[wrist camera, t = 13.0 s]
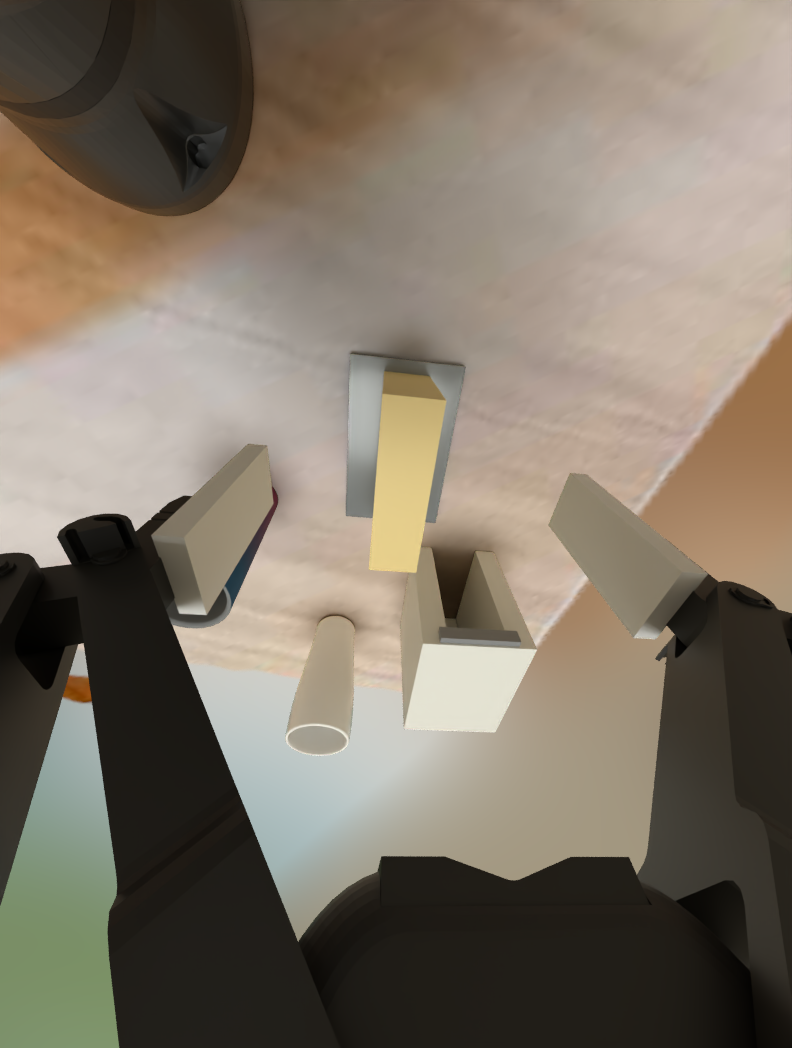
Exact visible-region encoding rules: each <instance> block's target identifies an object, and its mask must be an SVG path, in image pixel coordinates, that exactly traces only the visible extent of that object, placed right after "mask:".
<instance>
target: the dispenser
mask: <svg viewBox="0 0 792 1048" xmlns="http://www.w3.org/2000/svg"><path fill="white" fill-rule="evenodd" d="M400 636H401V664H402V691H403V718H404V729H412V730H441V731H471V732H472V731H473V732H495V731H496V729H497V727H498V725H499V723H500V722H501V720H502V717H503V716H504V714H505V712H506V710H507V708H508V706H509V704H510V702H511V700H512V698H513V696H514V694H515V692H516V690H517V688H518V686H519V684H520V682H521V680H522V678H523V676H524V674H525V672H526V670H527V668H528V666H529V665H530V663H531V661H532V659H533V657H534V655H535V653H536V651H537V648H536V646H535V644H534V642H533V639H532V637H531V635H530V633H529V630H528V628H527V626H526V624H525V621H524V619H523V617H522V615H521V612H520V610H519V608H518V606H517V603H516V601H515V599H514V597H513V594H512V592H511V590H510V588H509V586H508V583H507V581H506V579H505V577H504V574H503V572H502V570H501V568H500V565H499V563H498V561H497V559H496V556H495V554H494V552H485V551H475V553H474V557H473V560H472V564H471V567H470V571H469V575H468V578H467V582H466V585H465V589H464V592H463V596H462V599H461V603H460V606H459V610H458V613H457V617H456V619H449V618H445V617H444V612H443V606H442V601H441V596H440V590H439V585H438V580H437V574H436V569H435V563H434V558H433V553H432V548H430V547H421V548H420V554H419V560H418V565H417V571H416V573H411V572H409V573H408V579H407V585H406V592H405V598H404V604H403V610H402V617H401V623H400Z"/></svg>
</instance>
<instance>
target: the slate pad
mask: <svg viewBox="0 0 792 1048" xmlns="http://www.w3.org/2000/svg"><path fill="white" fill-rule="evenodd" d="M465 368H466V367H465V366H459V365H450V364H441V363H432V362H423V361H414V360H405V359H397V358H388V357H379V356H370V355H361V354H352V353H351V354H350V378H349V417H348V455H347V494H346V516H353V517H366V518H373V509H374V496H375V483H376V470H377V457H378V444H379V431H380V418H381V405H382V392H383V380H384V371H387V372H396V373H406V374H415V375H424V376H430V377H431V379H432V380H433V382H434V383H435V385H436V386H437V388H438V389H439V390H440V392H441V393H442V395H443V396H444V398H445V399H446V406H445V412H444V417H443V423H442V429H441V435H440V440H439V446H438V452H437V457H436V463H435V469H434V474H433V480H432V486H431V491H430V497H429V503H428V508H427V514H426V520H425V522H430V523H435V522H436V517H437V512H438V507H439V502H440V497H441V491H442V486H443V481H444V476H445V471H446V466H447V461H448V456H449V450H450V445H451V440H452V435H453V430H454V425H455V420H456V414H457V409H458V404H459V399H460V394H461V389H462V384H463V379H464V373H465Z"/></svg>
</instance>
